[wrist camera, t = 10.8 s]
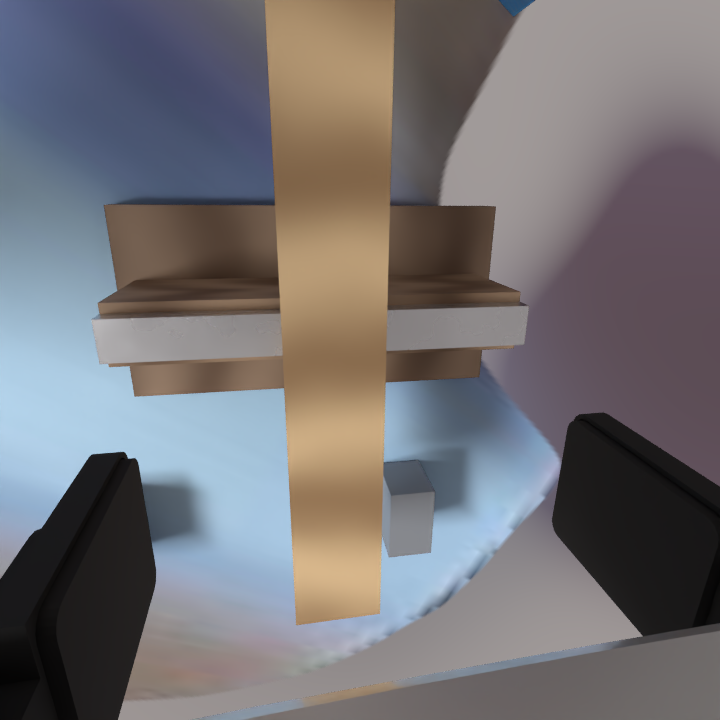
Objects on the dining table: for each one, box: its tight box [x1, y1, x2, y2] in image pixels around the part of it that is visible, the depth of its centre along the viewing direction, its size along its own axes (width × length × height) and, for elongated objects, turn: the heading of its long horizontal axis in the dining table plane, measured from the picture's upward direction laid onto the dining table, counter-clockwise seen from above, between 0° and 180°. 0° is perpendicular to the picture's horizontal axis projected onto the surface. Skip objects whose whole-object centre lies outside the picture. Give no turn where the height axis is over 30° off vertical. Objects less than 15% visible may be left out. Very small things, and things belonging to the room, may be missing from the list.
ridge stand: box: [92, 204, 529, 396], centre depth 26 cm, size 22×11×8 cm, turn 90°
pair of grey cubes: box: [382, 460, 435, 557], centre depth 32 cm, size 23×5×4 cm, turn 90°
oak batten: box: [265, 0, 395, 625], centre depth 20 cm, size 26×4×4 cm, turn 0°
